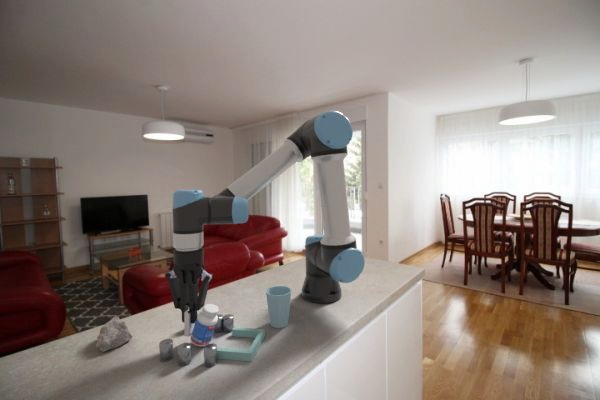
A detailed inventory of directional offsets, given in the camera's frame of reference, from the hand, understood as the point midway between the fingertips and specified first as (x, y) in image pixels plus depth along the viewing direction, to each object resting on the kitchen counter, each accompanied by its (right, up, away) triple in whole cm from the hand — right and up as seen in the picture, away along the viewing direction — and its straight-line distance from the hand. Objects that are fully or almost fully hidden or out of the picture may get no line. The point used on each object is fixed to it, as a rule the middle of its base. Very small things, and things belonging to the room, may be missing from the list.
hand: (189, 333), depth 76 cm
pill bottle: (+3, -2, 0) cm, 3 cm away
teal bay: (+14, -2, -2) cm, 14 cm away
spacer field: (+3, -3, 0) cm, 4 cm away
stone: (-21, -3, +1) cm, 21 cm away
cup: (+24, -2, +10) cm, 26 cm away
